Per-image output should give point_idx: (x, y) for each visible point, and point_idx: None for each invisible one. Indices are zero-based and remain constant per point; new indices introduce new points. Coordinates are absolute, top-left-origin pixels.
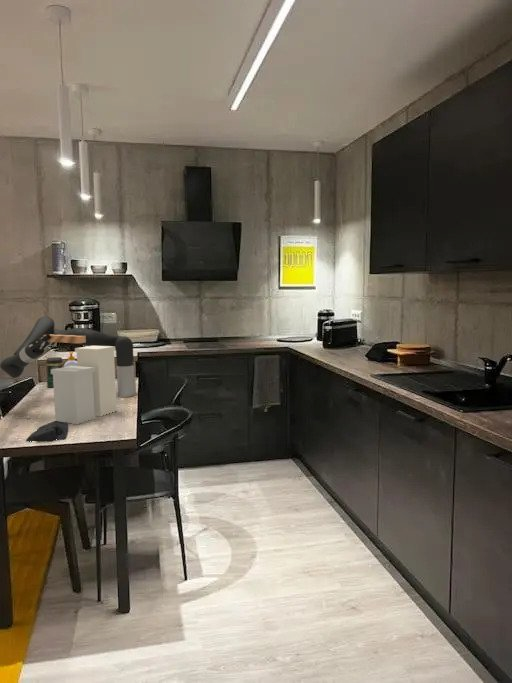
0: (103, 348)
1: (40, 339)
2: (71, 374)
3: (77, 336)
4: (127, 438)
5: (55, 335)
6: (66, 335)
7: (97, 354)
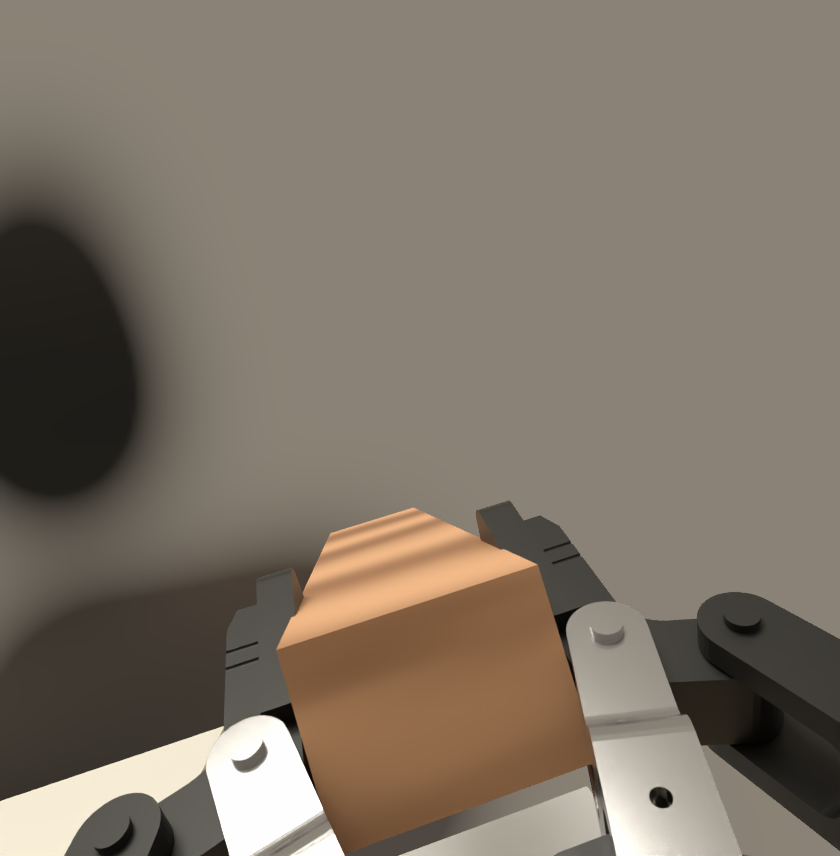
0: (139, 756)
1: (683, 630)
2: None
3: (407, 511)
4: None
5: (439, 537)
6: (367, 542)
7: None
